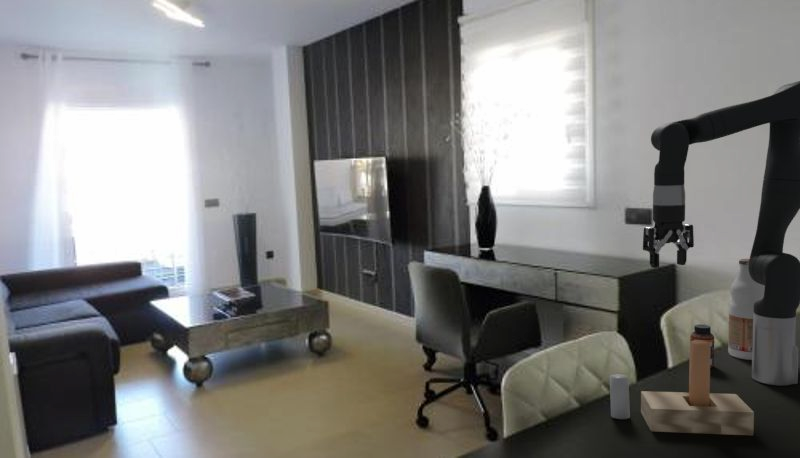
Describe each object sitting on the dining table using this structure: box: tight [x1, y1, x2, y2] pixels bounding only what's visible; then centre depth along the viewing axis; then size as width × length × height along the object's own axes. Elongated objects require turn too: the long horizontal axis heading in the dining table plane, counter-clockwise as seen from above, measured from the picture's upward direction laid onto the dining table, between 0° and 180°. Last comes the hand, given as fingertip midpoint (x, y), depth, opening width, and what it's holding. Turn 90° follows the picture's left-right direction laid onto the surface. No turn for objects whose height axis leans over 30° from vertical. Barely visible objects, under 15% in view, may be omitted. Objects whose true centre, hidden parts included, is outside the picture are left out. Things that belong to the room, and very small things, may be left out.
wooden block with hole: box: [640, 390, 755, 436], centre depth 131 cm, size 20×10×5 cm, turn 80°
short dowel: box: [609, 373, 631, 420], centre depth 136 cm, size 4×4×9 cm
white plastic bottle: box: [727, 258, 765, 361], centre depth 172 cm, size 9×9×28 cm
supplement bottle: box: [689, 323, 715, 369], centre depth 166 cm, size 6×6×11 cm
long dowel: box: [688, 340, 711, 407], centre depth 130 cm, size 4×4×18 cm
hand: (668, 266), depth 154 cm, fingers open, 8 cm apart
